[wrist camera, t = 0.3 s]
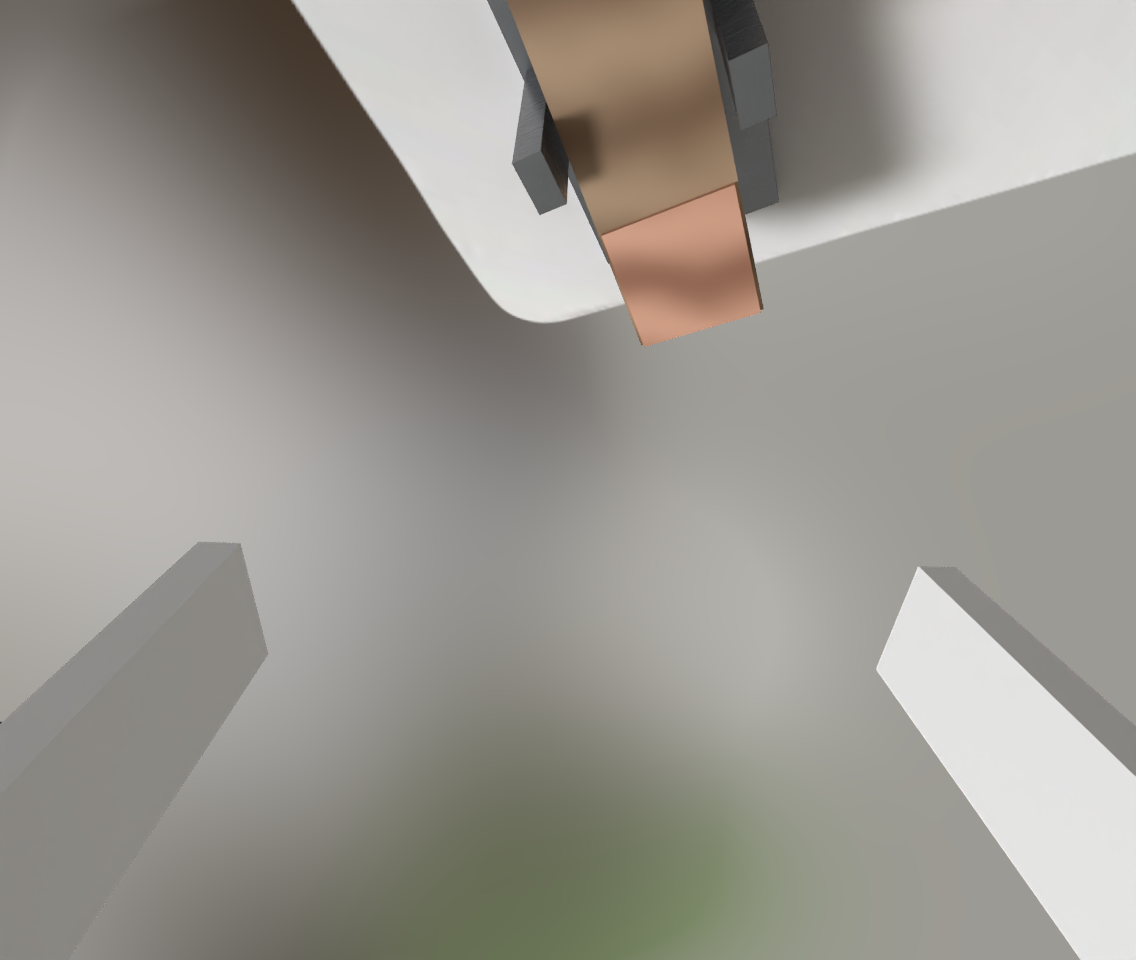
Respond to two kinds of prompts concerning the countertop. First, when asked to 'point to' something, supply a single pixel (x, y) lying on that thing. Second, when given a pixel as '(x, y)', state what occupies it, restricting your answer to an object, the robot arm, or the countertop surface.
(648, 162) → the balance beam
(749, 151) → the beam stand
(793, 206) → the countertop surface
